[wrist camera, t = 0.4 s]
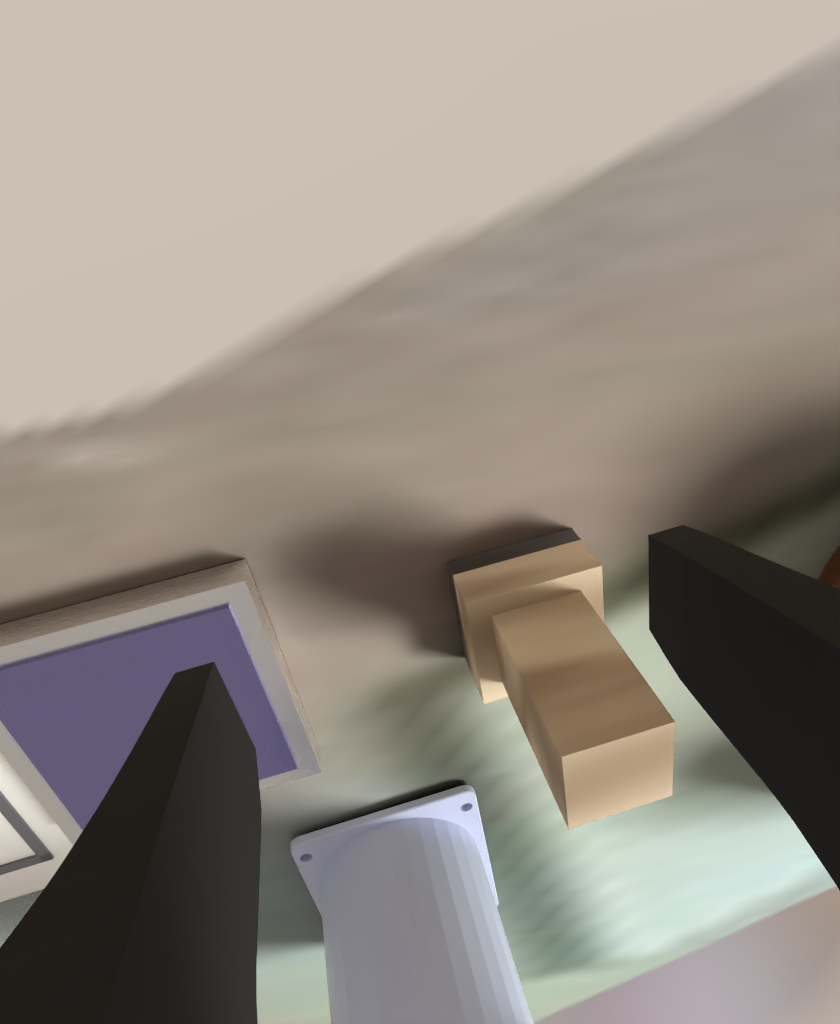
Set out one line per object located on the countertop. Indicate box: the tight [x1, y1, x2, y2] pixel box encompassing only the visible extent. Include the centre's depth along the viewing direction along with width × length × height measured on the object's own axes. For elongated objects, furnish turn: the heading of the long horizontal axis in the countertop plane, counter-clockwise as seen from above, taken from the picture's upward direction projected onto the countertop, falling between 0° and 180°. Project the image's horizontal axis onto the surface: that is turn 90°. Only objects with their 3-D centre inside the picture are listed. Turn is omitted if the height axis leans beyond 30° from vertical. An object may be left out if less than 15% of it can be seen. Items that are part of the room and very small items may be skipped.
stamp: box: [447, 528, 675, 829], centre depth 20 cm, size 4×4×8 cm
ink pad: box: [0, 559, 321, 845], centre depth 22 cm, size 9×9×1 cm
